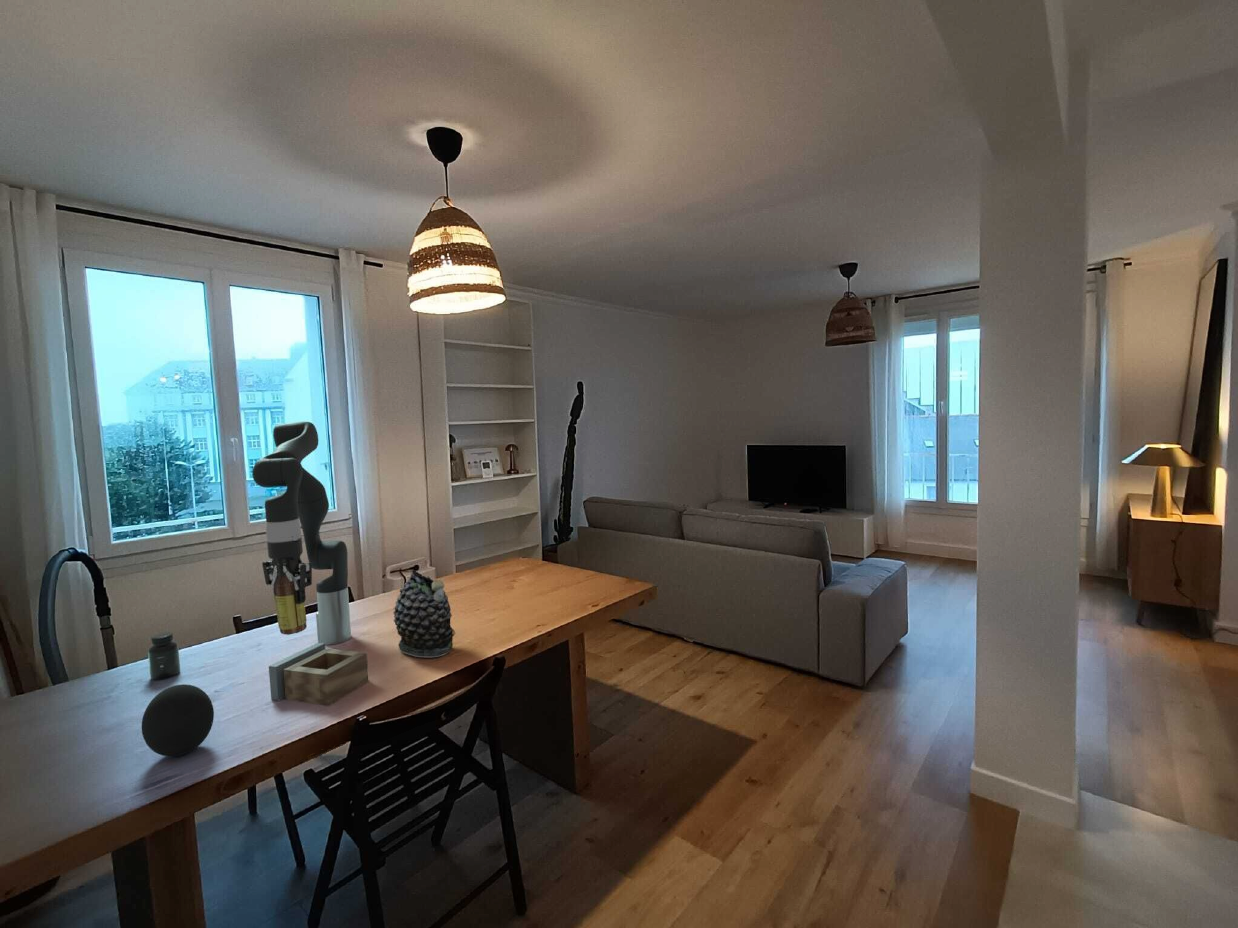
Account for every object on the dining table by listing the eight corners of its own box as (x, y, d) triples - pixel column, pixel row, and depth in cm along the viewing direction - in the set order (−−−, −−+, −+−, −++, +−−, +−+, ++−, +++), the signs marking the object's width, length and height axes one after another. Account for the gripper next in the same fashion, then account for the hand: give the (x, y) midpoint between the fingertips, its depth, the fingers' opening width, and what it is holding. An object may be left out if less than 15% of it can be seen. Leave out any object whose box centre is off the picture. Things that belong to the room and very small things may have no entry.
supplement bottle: (145, 682, 160) (141, 641, 159) (158, 672, 166) (154, 632, 165) (173, 678, 162) (169, 637, 161) (184, 668, 168) (181, 629, 167)
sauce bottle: (301, 624, 148) (294, 550, 146) (311, 629, 144) (304, 554, 142) (274, 632, 143) (266, 556, 141) (283, 638, 139) (276, 560, 137)
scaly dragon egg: (467, 647, 177) (463, 569, 175) (429, 666, 164) (424, 582, 162) (422, 636, 188) (418, 563, 186) (383, 653, 175) (378, 574, 173)
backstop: (271, 699, 147) (268, 665, 146) (320, 672, 162) (318, 642, 161) (278, 700, 146) (275, 666, 145) (327, 673, 161) (324, 643, 160)
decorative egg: (223, 750, 124) (217, 684, 123) (151, 777, 114) (144, 706, 113) (208, 731, 132) (203, 669, 131) (140, 755, 123) (133, 688, 122)
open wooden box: (285, 699, 146) (283, 669, 146) (328, 675, 160) (326, 648, 159) (328, 705, 142) (326, 674, 142) (368, 680, 156) (366, 652, 155)
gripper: (249, 539, 140) (255, 604, 142) (293, 542, 135) (299, 609, 137) (275, 533, 147) (281, 595, 149) (318, 535, 143) (324, 599, 144)
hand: (290, 601), depth 143 cm, fingers closed on sauce bottle, 6 cm apart
